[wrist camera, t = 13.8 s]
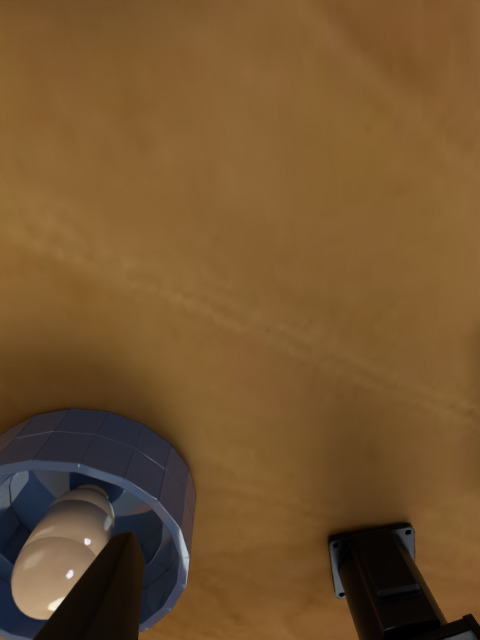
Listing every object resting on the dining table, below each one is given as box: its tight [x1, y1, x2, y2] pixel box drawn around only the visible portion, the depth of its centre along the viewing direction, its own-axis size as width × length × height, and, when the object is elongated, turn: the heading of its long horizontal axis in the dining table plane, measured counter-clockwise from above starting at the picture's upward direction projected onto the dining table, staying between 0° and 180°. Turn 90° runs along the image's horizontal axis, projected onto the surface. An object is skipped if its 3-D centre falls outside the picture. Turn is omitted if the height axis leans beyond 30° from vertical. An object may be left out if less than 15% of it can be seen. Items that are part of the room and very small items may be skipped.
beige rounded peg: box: [11, 484, 115, 620], centre depth 20 cm, size 4×4×7 cm
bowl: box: [0, 409, 196, 640], centre depth 21 cm, size 14×14×5 cm
